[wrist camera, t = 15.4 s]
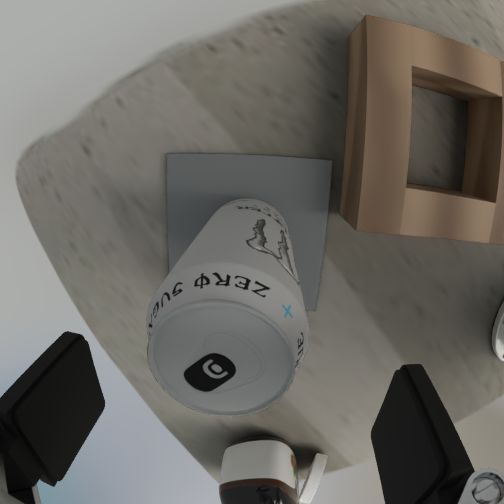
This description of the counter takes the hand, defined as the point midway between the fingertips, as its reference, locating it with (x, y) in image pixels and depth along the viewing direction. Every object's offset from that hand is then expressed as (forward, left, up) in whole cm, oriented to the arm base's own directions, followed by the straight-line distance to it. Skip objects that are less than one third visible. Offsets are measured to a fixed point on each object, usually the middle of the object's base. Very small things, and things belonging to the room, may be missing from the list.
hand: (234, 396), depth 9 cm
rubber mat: (+1, 0, -17) cm, 17 cm away
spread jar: (-4, +27, -17) cm, 32 cm away
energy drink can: (+1, 0, -16) cm, 16 cm away
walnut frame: (-13, -9, -17) cm, 23 cm away
